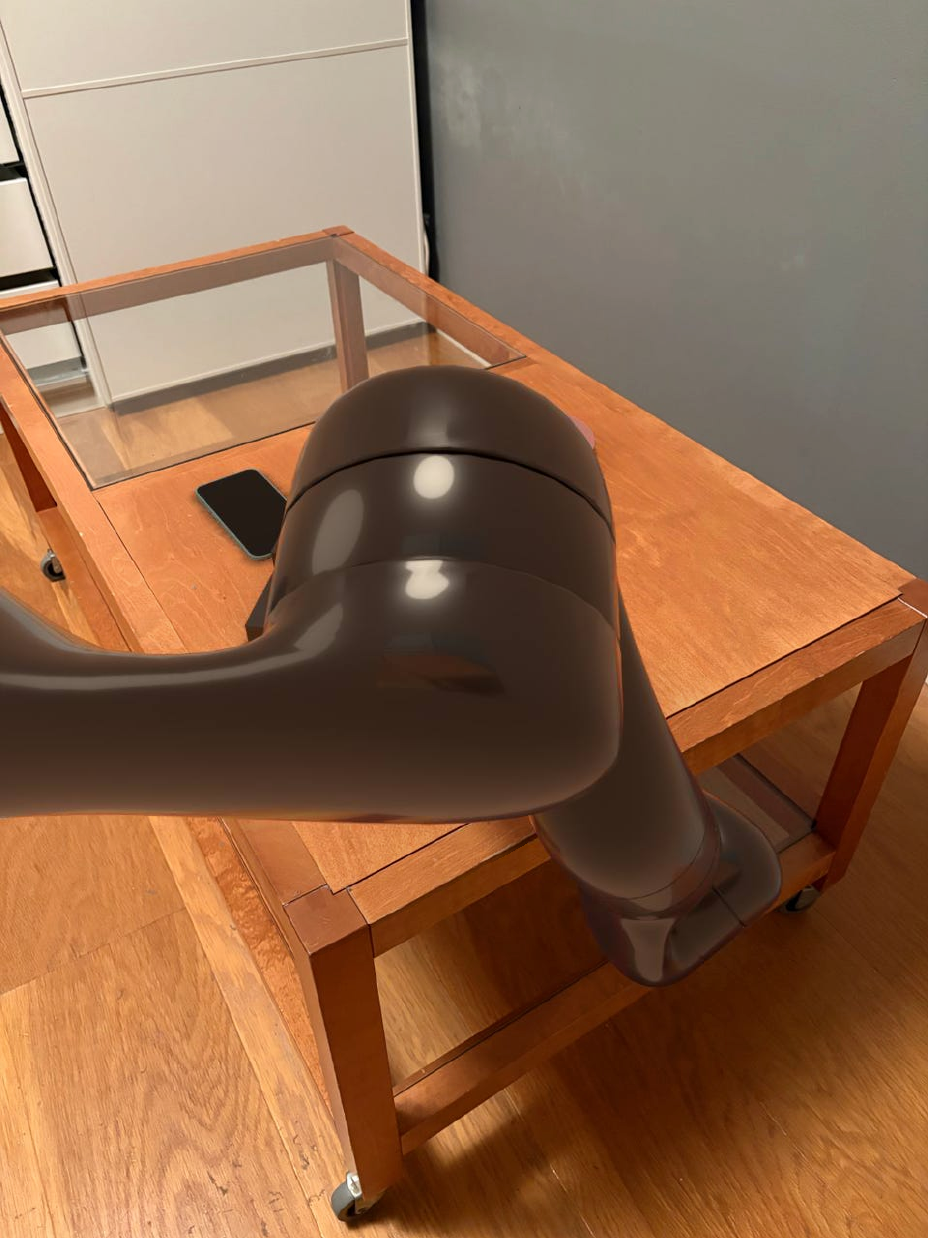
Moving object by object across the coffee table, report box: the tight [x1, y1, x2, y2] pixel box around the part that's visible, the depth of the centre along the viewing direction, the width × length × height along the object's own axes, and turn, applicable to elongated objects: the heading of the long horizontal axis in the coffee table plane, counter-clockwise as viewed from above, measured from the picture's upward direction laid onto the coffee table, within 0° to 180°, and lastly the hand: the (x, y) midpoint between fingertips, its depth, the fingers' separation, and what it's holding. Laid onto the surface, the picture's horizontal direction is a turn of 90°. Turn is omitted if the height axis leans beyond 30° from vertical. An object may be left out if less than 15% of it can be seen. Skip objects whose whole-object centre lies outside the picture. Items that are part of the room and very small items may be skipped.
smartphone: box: [195, 468, 287, 562], centre depth 96 cm, size 7×1×15 cm
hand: (414, 567), depth 73 cm, fingers open, 8 cm apart
